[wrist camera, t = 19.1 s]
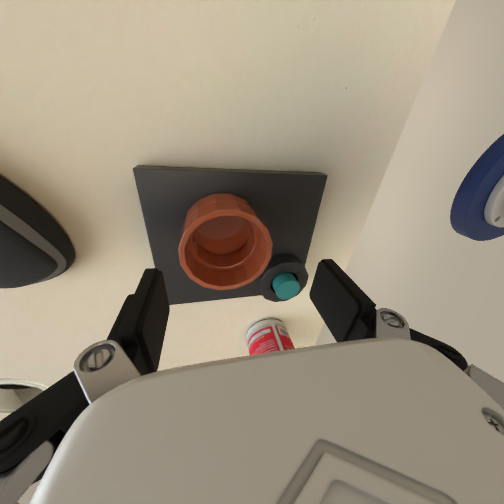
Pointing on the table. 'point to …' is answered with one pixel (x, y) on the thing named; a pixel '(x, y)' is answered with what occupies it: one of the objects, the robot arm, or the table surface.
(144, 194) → the scale
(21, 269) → the computer mouse
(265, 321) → the pill bottle
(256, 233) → the bowl
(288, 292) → the button
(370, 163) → the table surface
